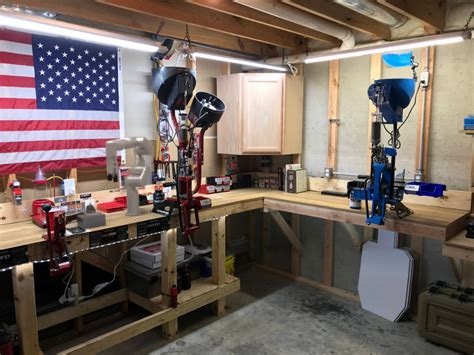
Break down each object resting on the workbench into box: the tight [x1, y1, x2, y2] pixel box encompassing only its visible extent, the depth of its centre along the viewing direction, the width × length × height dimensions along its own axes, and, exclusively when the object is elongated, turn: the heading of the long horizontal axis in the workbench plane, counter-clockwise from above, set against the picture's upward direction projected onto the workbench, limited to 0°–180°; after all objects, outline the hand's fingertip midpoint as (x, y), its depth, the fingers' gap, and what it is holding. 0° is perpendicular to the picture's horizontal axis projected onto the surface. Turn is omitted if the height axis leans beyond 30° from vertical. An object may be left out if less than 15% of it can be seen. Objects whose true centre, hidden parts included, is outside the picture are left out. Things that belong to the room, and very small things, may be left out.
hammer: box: [65, 204, 97, 224], centre depth 285 cm, size 5×11×30 cm
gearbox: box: [76, 210, 107, 230], centre depth 273 cm, size 16×12×10 cm
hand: (112, 181), depth 280 cm, fingers open, 9 cm apart
